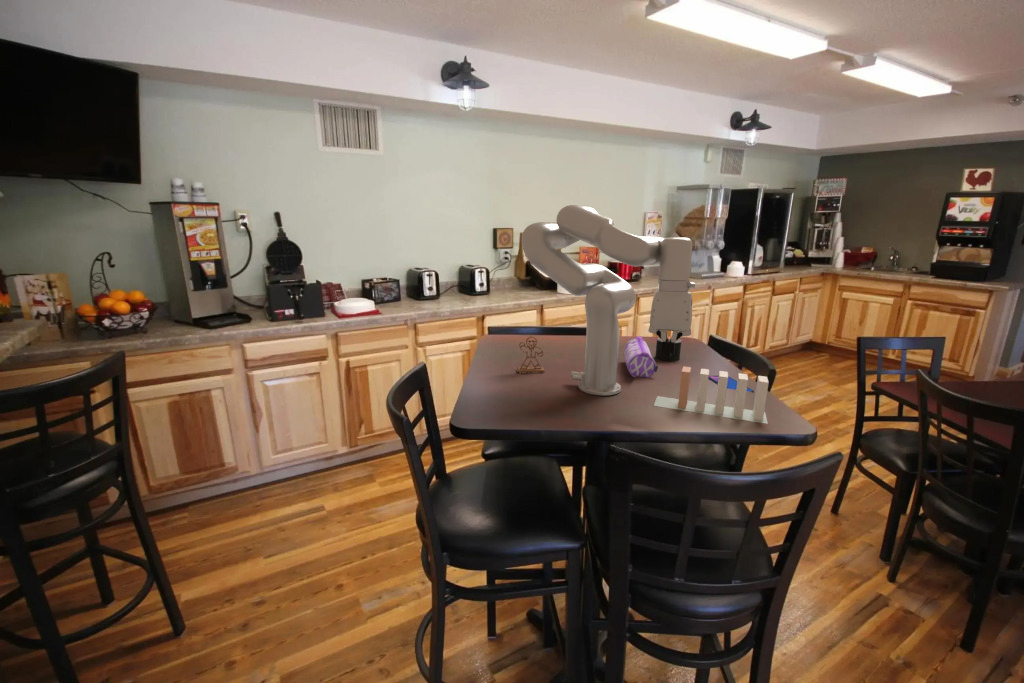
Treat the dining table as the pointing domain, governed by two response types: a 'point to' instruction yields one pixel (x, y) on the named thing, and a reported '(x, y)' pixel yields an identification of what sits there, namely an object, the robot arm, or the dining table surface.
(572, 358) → the dining table surface
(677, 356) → the sushi
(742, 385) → the domino
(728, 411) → the board
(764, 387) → the domino
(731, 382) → the smartphone
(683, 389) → the domino
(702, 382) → the domino
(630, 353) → the pencil case
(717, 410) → the domino
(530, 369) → the gingerbread man figurine
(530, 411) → the dining table surface
